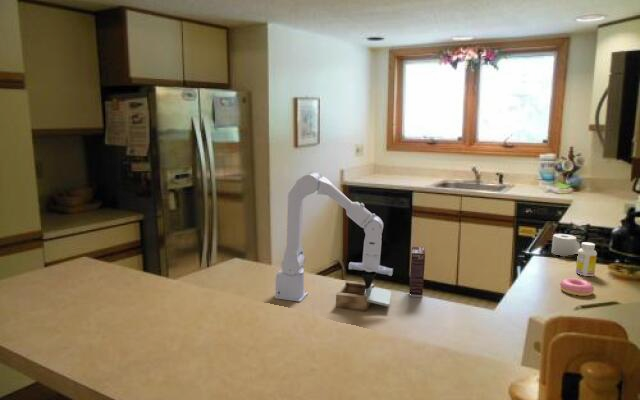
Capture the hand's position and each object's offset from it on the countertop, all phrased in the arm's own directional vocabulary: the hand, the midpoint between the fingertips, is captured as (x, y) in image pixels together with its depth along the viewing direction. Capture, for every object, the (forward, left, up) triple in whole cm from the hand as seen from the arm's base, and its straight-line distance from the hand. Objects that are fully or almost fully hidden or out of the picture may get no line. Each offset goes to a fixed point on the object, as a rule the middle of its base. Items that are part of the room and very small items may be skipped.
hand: (368, 292), depth 162 cm
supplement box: (+14, +15, -4) cm, 21 cm away
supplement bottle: (+76, +58, -4) cm, 96 cm away
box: (-4, 0, -4) cm, 6 cm away
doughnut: (+69, +36, -4) cm, 78 cm away
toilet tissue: (+73, +85, -4) cm, 113 cm away
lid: (+3, 0, -1) cm, 3 cm away
